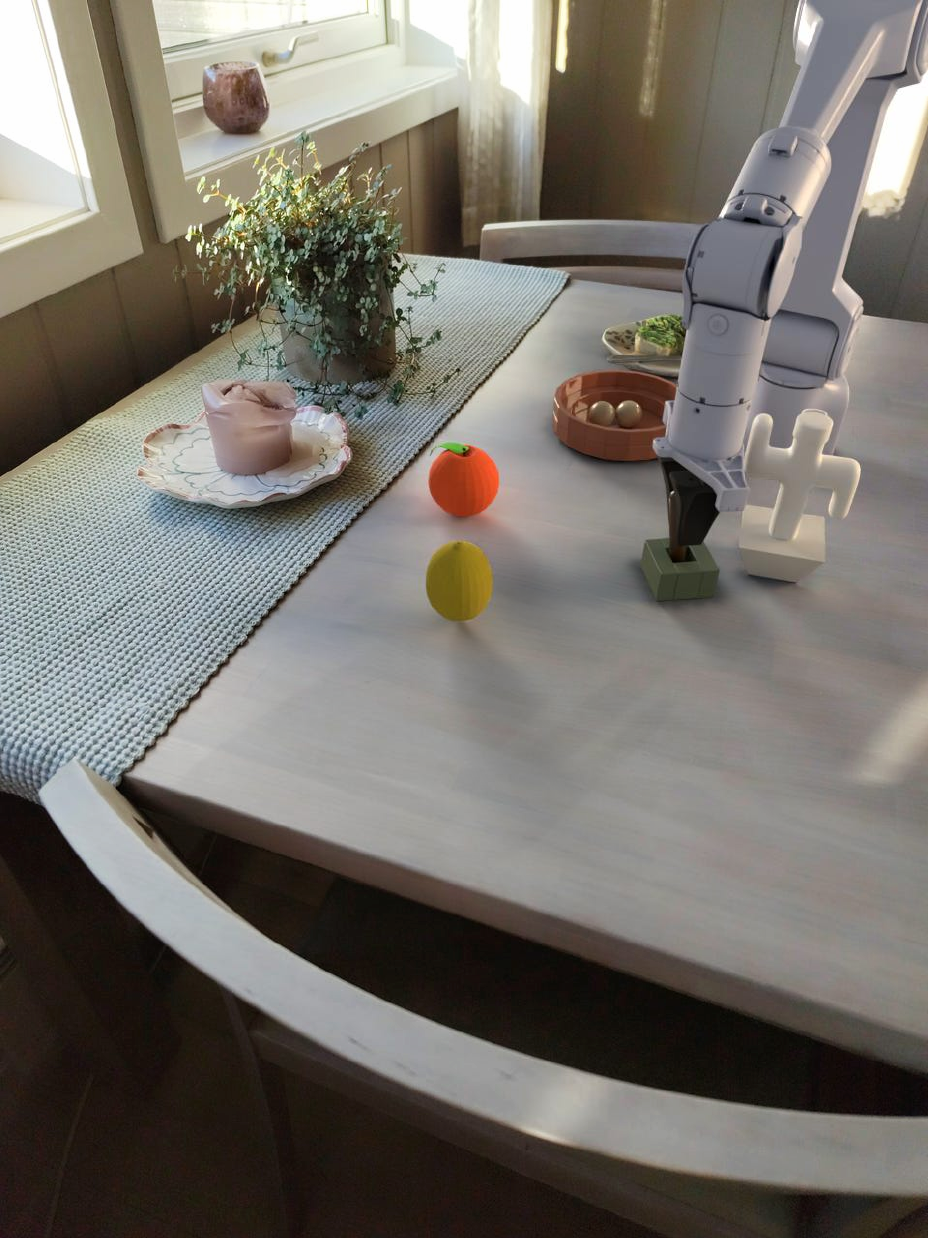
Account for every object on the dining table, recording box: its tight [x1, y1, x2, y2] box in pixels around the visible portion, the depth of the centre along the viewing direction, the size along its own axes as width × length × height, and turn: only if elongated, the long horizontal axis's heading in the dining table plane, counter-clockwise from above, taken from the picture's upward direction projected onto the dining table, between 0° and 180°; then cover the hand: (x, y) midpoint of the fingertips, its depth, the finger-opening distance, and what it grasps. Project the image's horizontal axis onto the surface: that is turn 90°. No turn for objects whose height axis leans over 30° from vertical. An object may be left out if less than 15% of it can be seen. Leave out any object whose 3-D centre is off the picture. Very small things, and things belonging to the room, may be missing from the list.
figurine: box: [738, 409, 861, 584], centre depth 75 cm, size 7×9×15 cm
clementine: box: [427, 442, 500, 518], centre depth 85 cm, size 8×7×7 cm
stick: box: [668, 490, 686, 563], centre depth 74 cm, size 1×1×8 cm
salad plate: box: [600, 314, 687, 378], centre depth 113 cm, size 19×18×5 cm
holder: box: [640, 537, 721, 602], centre depth 77 cm, size 5×5×3 cm
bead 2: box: [615, 401, 642, 428], centre depth 98 cm, size 3×3×3 cm
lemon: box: [425, 540, 494, 622], centre depth 71 cm, size 6×6×8 cm
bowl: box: [551, 369, 677, 462], centre depth 98 cm, size 15×15×4 cm
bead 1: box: [588, 401, 615, 427], centre depth 98 cm, size 3×3×3 cm
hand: (685, 536), depth 75 cm, fingers closed on stick
